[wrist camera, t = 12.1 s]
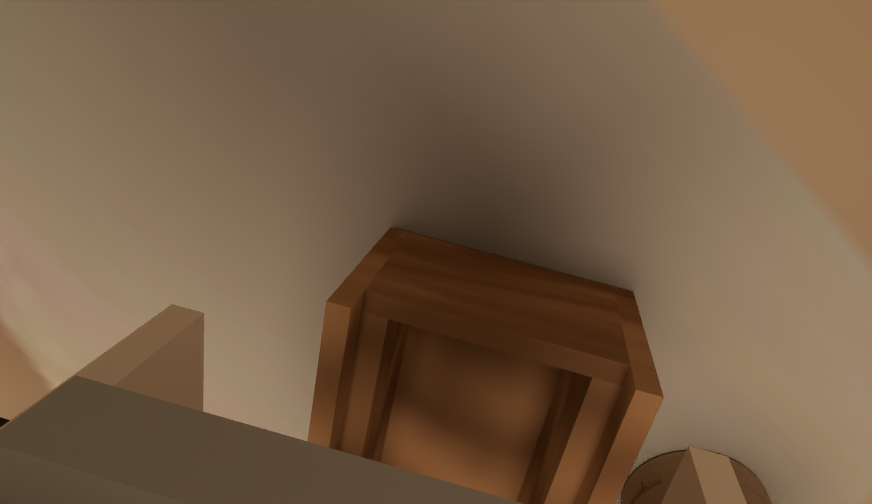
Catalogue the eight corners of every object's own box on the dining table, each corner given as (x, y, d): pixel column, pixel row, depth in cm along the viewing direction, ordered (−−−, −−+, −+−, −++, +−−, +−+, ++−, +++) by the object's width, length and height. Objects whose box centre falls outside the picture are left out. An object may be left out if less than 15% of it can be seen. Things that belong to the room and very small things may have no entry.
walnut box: (390, 227, 30) (326, 301, 21) (633, 291, 28) (663, 397, 20) (342, 496, 38) (282, 625, 29) (530, 557, 36) (521, 710, 28)
